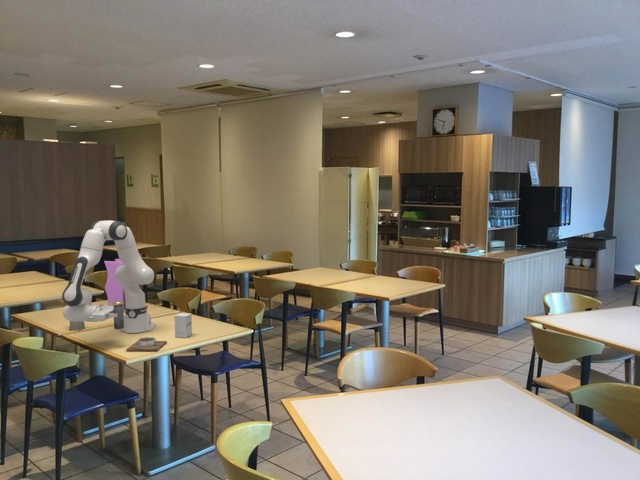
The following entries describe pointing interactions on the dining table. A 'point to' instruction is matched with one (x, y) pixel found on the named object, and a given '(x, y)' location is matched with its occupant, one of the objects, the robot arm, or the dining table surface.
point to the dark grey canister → (118, 309)
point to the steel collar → (146, 342)
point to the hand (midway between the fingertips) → (120, 313)
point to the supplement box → (183, 325)
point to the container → (114, 283)
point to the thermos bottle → (76, 325)
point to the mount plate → (146, 349)
